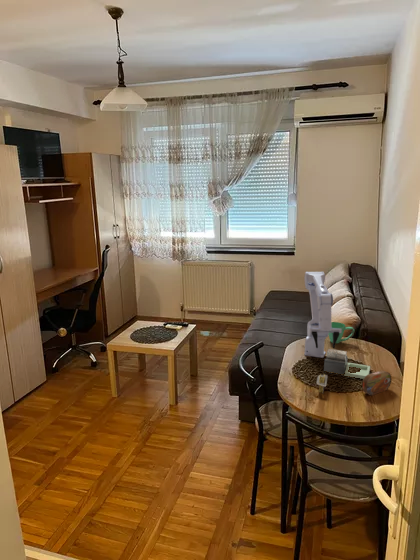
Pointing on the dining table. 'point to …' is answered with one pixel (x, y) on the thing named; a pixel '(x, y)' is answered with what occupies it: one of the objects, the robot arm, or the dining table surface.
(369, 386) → the tin
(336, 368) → the slot block
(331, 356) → the chip
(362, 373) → the tray
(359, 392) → the dining table surface
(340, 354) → the chip
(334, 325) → the mug
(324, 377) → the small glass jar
